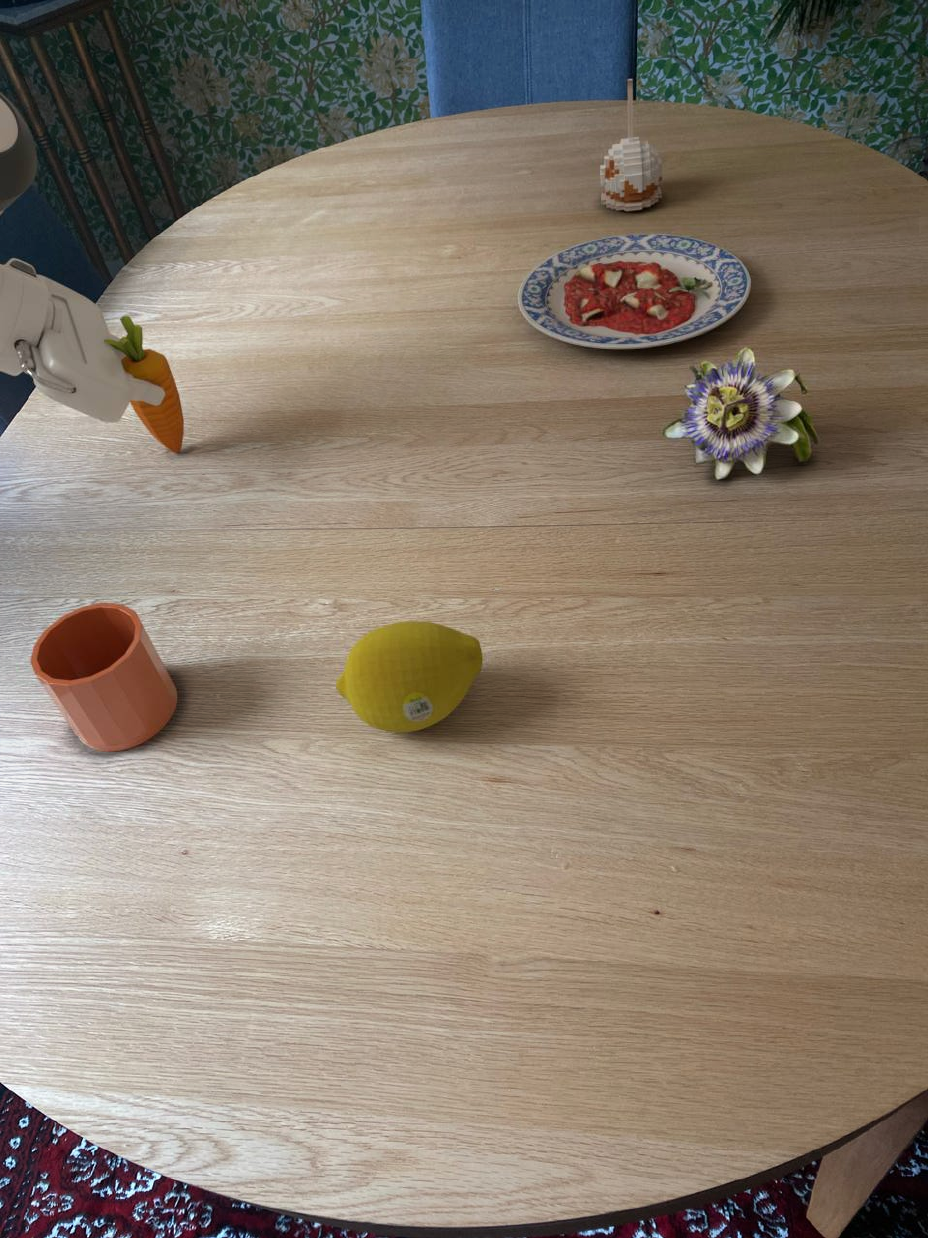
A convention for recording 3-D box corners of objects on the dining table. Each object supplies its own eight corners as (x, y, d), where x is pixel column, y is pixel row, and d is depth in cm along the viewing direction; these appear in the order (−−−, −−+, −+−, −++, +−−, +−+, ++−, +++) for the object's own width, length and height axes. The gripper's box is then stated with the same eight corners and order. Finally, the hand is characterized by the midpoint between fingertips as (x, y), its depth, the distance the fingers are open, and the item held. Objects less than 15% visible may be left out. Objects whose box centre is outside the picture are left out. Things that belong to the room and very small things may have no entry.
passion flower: (720, 521, 92) (644, 443, 86) (735, 436, 98) (664, 357, 92) (832, 484, 84) (757, 395, 78) (842, 394, 90) (772, 304, 84)
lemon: (343, 758, 72) (318, 688, 66) (352, 677, 77) (329, 606, 72) (490, 746, 71) (477, 674, 65) (489, 665, 76) (476, 592, 71)
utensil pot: (69, 761, 75) (22, 694, 69) (82, 682, 81) (40, 614, 75) (174, 740, 75) (136, 672, 70) (180, 662, 81) (145, 593, 75)
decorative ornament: (599, 192, 133) (596, 73, 123) (657, 186, 132) (659, 64, 122) (603, 217, 128) (599, 94, 117) (663, 210, 127) (665, 86, 116)
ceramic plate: (493, 359, 107) (490, 334, 105) (548, 249, 124) (547, 226, 122) (735, 371, 100) (737, 344, 98) (760, 252, 116) (762, 227, 114)
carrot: (185, 469, 100) (131, 338, 90) (145, 464, 102) (87, 335, 91) (209, 440, 103) (159, 310, 93) (169, 436, 105) (116, 308, 94)
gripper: (37, 341, 80) (192, 403, 89) (13, 250, 94) (149, 312, 103) (8, 406, 82) (161, 460, 91) (-11, 307, 96) (124, 363, 105)
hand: (155, 381), depth 97 cm, fingers closed on carrot, 5 cm apart
